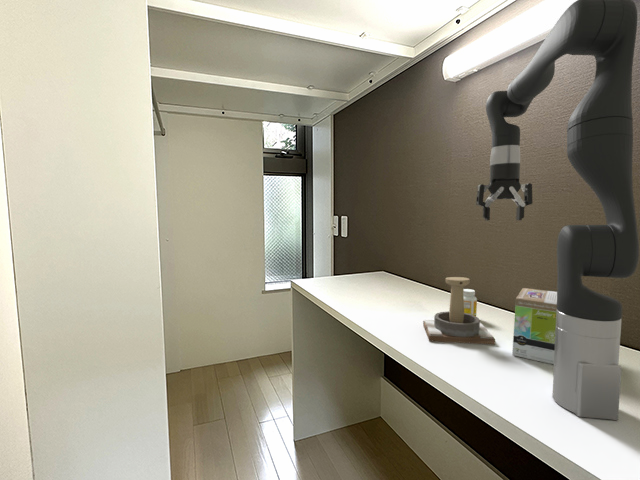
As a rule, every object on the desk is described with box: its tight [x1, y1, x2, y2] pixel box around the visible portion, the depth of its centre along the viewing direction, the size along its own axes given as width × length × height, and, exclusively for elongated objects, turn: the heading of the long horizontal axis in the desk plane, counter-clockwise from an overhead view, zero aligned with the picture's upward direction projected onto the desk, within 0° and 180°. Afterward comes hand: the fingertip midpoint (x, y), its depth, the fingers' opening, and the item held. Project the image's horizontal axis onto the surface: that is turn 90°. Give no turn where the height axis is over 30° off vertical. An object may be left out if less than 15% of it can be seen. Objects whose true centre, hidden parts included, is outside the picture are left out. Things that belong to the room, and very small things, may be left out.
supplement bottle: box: [463, 288, 478, 317], centre depth 112 cm, size 5×5×10 cm
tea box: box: [512, 287, 557, 365], centre depth 86 cm, size 15×10×15 cm
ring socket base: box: [422, 311, 496, 345], centre depth 98 cm, size 13×17×5 cm
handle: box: [445, 276, 470, 323], centre depth 97 cm, size 5×6×15 cm
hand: (503, 220), depth 97 cm, fingers open, 8 cm apart
